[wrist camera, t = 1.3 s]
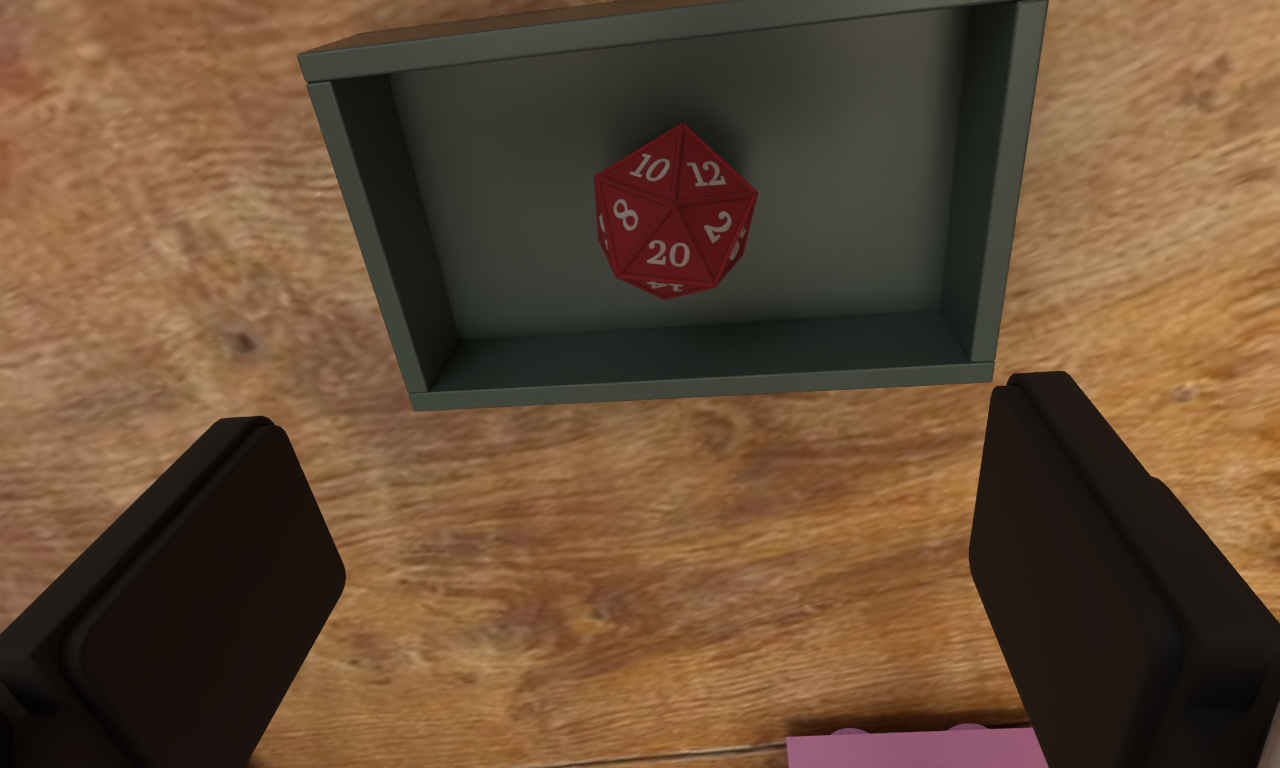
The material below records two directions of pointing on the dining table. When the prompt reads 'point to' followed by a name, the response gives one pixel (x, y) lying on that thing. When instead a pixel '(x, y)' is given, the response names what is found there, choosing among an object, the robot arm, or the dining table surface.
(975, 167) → the tray
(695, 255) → the dice
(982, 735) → the teapot
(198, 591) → the robot arm
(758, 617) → the dining table surface
